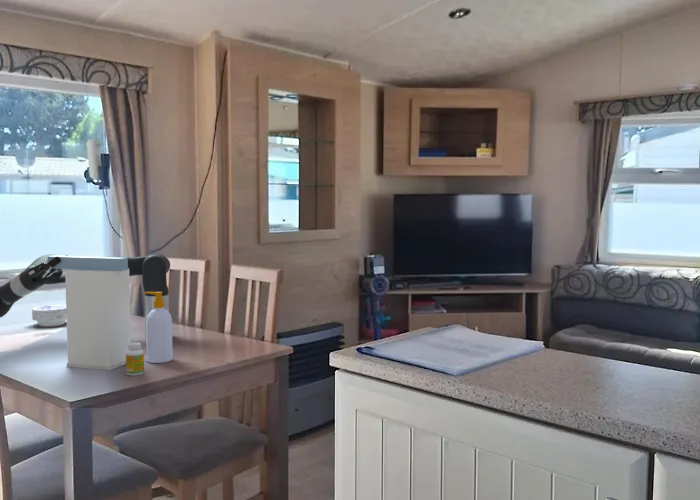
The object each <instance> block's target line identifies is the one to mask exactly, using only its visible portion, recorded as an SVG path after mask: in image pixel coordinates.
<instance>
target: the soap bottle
mask: <svg viewBox="0 0 700 500" xmlns="http://www.w3.org/2000/svg"><path fill="white" fill-rule="evenodd" d="M146 293H149V294H154V295H155V297H156V298H155V300H154V301H153V305H154V309H153V310H151V312H150V313H149V314H148V316H147V319H146V338H145V339H146V341H145V342H146V361H147V362H148V363H150V364H151V363H152V364H163V363H168V362H171V361H172V360H173V358H174V357H173V354H174V353H173V319H172V314H171V313H170V311H169V312H168V311H167V310H165V309H164V300H163V298H162V292H143V294H144V295H145V294H146Z"/></svg>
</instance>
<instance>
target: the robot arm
mask: <svg viewBox="0 0 700 500" xmlns="http://www.w3.org/2000/svg"><path fill="white" fill-rule="evenodd" d="M48 256H57V257H55V258H53V259H52V260H50V261H48V258H47V257H48ZM59 256H60V255H58V254H57V255H56V254H51V253H50V254H49V253H48V254H44V255H41V256H39V257H38V258H36V259H35V260H33V261H32V262H31V264H29V265H28V267H26V268H25V269H24V271H22V272H20V273H18V274H17V275H16V276H14V277H13V278H12V279H11V280H9V281H8V282H6V283H4V284H3V285H0V318H3V317H4V316H6V315H7V313H8V312H9V311H10V310H11V309H12V307H13V305H15V303H16V302H18V301H19V300H21V299H23V298H24V297H26V296H28V295H30V294H32V293H33V292H34V291H36V290H38V289H39V288H41V287H43V286H44V285H56V284H57V285H58V284H66V282H65V271H63V269H53V267H54V266H55V265H57V264H59V263H60V262H61V259H60V257H59ZM64 256H69V254H66V255H64ZM117 257H118V258H128V268H129V277H132V276H133V277H134V276H142V288H143V291H144V292H162V298H163V300H164V309H165V310H167V311H168V312H169V313H170V307H169V306H170V304H169V303H170V302H169V299H170V298H169V297H170V295H169V294H170V293H169V292H170V290H169V286H168V283H167V281H168V280H167V273H168V272H169V270H170V269H171V262H170V259H169V258H168V257H166V256H165V255H163V254H160V253H156V254H151V255H143V256H137V257H134V256H132V257H128V256H117ZM144 292H143V293H144ZM155 298H156V297H155V295H154V294H149V293H146V294H144V323H145V325H144V326H145V327H144V329H145V331H144V333H145V334H144V335H145V339H146V319H147V316H148V314H149V313H150V312H151V310H153V309H154V305H153V301H154V300H155Z"/></svg>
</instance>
